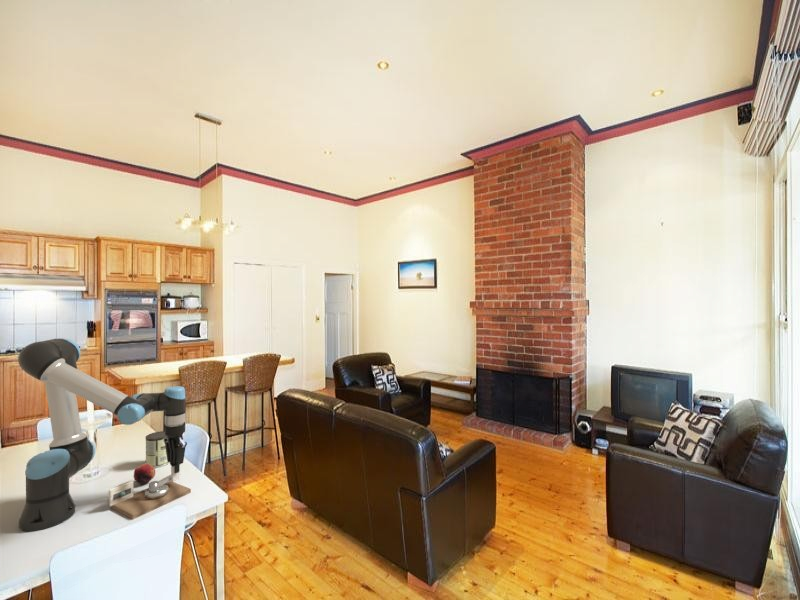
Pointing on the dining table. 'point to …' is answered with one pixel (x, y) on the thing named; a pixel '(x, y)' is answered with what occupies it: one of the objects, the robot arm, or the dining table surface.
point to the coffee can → (156, 449)
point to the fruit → (144, 473)
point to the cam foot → (157, 488)
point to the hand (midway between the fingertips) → (175, 479)
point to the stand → (142, 499)
